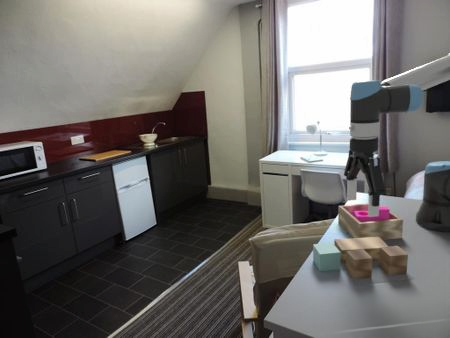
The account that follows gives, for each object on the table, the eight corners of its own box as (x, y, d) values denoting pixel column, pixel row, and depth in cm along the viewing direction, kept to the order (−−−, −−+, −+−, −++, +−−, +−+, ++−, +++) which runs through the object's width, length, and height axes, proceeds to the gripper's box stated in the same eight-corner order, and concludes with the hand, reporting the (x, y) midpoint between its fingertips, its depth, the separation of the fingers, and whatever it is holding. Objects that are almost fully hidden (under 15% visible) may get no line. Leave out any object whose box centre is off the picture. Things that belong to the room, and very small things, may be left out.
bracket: (387, 237, 110) (389, 209, 108) (356, 236, 112) (356, 209, 110) (378, 223, 122) (380, 197, 119) (350, 222, 124) (350, 197, 121)
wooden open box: (375, 219, 126) (376, 202, 124) (401, 238, 109) (403, 219, 107) (338, 222, 125) (338, 205, 123) (358, 243, 108) (359, 223, 107)
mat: (392, 260, 97) (392, 259, 96) (413, 280, 87) (414, 278, 87) (340, 266, 96) (340, 265, 96) (356, 286, 86) (356, 285, 86)
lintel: (378, 250, 103) (378, 236, 102) (388, 262, 97) (389, 247, 95) (334, 253, 104) (334, 239, 103) (341, 265, 97) (341, 250, 96)
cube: (332, 260, 100) (332, 242, 98) (340, 270, 94) (340, 252, 92) (313, 262, 99) (313, 244, 98) (320, 272, 94) (320, 254, 92)
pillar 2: (396, 264, 94) (397, 245, 93) (406, 273, 89) (407, 254, 88) (379, 266, 94) (380, 247, 92) (389, 275, 89) (390, 256, 87)
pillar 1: (362, 267, 94) (363, 249, 92) (371, 277, 89) (372, 258, 87) (345, 269, 93) (346, 250, 92) (353, 279, 89) (354, 259, 87)
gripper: (333, 132, 103) (333, 195, 108) (373, 145, 79) (370, 225, 84) (356, 130, 103) (355, 193, 108) (403, 143, 79) (398, 223, 84)
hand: (361, 207), depth 96 cm, fingers open, 13 cm apart
